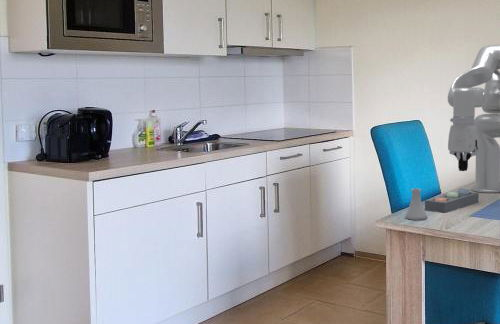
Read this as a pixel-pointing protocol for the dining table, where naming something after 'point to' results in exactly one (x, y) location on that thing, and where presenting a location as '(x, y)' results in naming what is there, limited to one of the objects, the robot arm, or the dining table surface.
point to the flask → (416, 207)
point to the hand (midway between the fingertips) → (462, 170)
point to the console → (451, 202)
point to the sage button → (452, 194)
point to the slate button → (463, 191)
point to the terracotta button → (440, 199)
